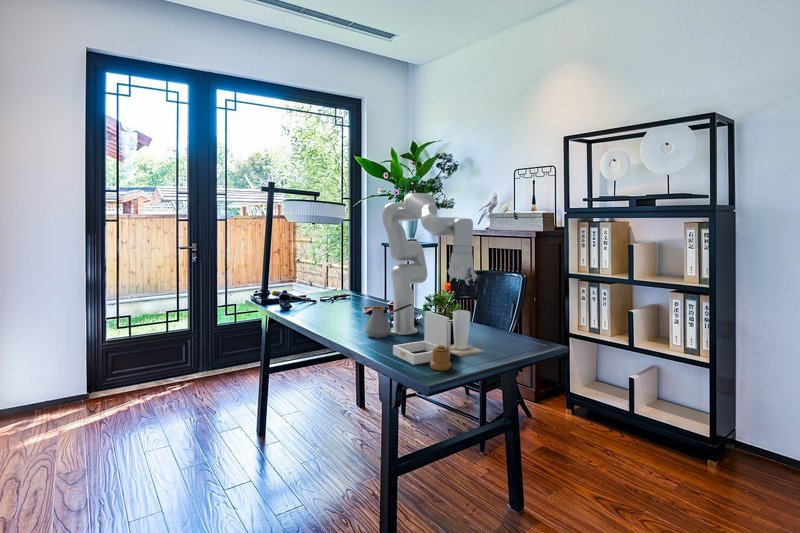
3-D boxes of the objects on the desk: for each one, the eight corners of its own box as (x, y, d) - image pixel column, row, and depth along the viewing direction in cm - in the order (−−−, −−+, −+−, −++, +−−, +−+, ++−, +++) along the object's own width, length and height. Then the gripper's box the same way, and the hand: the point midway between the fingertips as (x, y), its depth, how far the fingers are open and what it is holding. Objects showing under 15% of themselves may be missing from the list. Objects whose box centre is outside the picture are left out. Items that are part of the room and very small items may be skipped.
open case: (392, 354, 183) (392, 315, 182) (426, 348, 192) (427, 311, 190) (414, 365, 169) (414, 323, 168) (451, 359, 178) (451, 318, 176)
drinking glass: (460, 351, 185) (461, 313, 184) (448, 347, 191) (449, 311, 189) (472, 349, 189) (473, 312, 188) (461, 345, 195) (462, 309, 193)
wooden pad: (438, 348, 193) (438, 346, 193) (462, 344, 199) (462, 342, 199) (459, 356, 181) (459, 355, 181) (484, 352, 187) (484, 350, 187)
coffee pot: (363, 339, 207) (363, 305, 206) (367, 332, 218) (367, 300, 217) (412, 340, 205) (412, 306, 204) (413, 333, 217) (413, 301, 215)
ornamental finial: (455, 368, 166) (439, 372, 162) (441, 363, 172) (425, 367, 168) (455, 346, 166) (439, 350, 161) (441, 342, 172) (425, 345, 167)
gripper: (441, 248, 191) (440, 290, 193) (468, 252, 177) (467, 297, 179) (456, 248, 195) (455, 289, 197) (484, 251, 180) (482, 295, 182)
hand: (461, 292), depth 188 cm, fingers open, 9 cm apart
